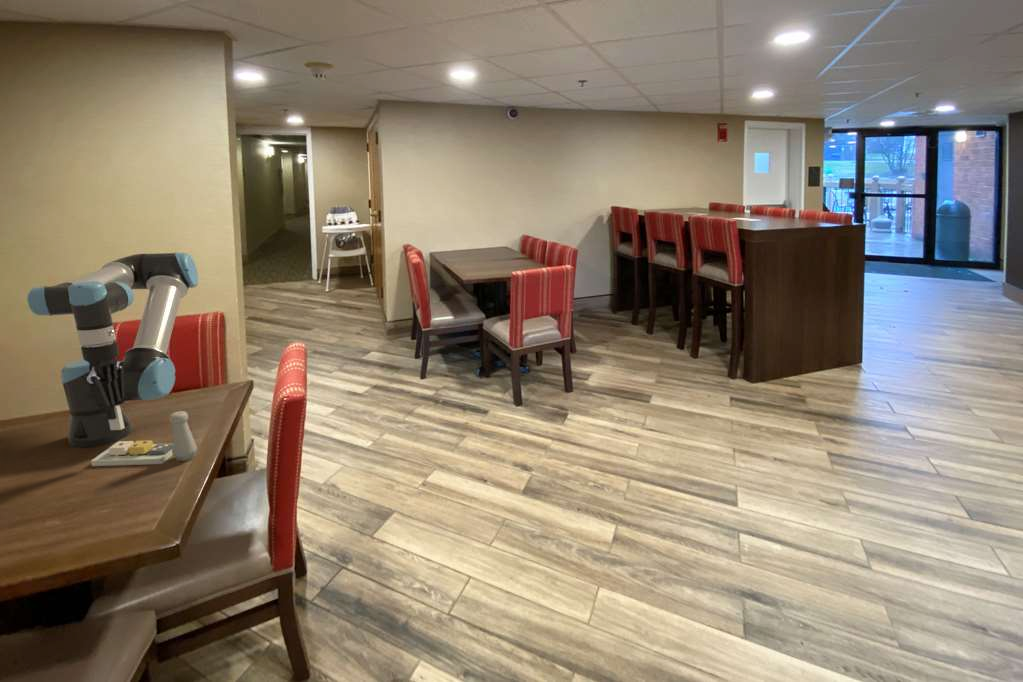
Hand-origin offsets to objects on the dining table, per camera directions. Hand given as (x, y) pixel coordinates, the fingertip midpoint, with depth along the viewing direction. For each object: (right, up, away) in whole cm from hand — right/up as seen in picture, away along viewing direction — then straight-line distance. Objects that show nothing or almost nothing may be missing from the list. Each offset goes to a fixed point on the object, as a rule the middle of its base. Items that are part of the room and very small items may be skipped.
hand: (117, 428), depth 149 cm
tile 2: (+5, -6, +2) cm, 8 cm away
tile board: (+4, -8, +3) cm, 9 cm away
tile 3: (+10, -7, +3) cm, 13 cm away
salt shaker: (+17, -8, +2) cm, 19 cm away
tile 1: (0, -6, +2) cm, 7 cm away
